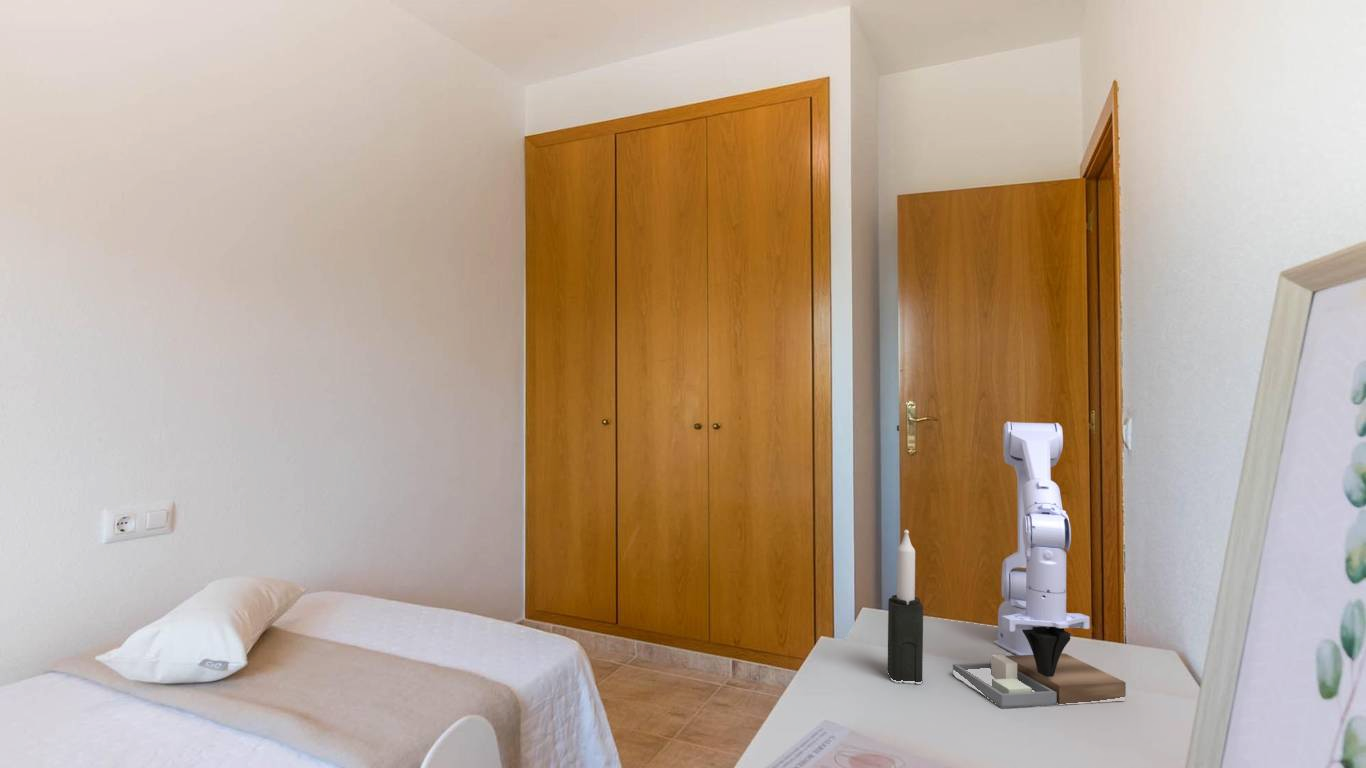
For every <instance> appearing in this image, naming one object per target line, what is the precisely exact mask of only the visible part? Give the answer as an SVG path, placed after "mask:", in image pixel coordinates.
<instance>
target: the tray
mask: <svg viewBox="0 0 1366 768" xmlns="http://www.w3.org/2000/svg"><path fill="white" fill-rule="evenodd" d="M980 668H990V669H991V661H990V662H989V661H988V662H974V663H973V662H972V663H971V662H968V663H967V662H966V663H965V662H964V663H952V671H953V670H955V671H956V672H958V673H959V674H960V675H961V676H963V677H964V678H965V679H967V680H968V681H969V682H970V683H971V684H972V685H974V686H975V687H976V688H977V689H978V690H980V691H981V692H982V693H983V694H984V695H985V696H986V697H988V698H989V699H990V700H992V701H993V702H994V703H996V704H997V705H998V706H997V705H996V704H995V705H996V706H997V707H999V706H1000V707H1001V708H1000V707H999V708H1000V709H1002V708H1006V709H1018V707H1023V708H1030V707H1029V706H1040V707H1045V706H1044V705H1057V706H1058V704H1057V692H1055V691H1053V690H1051V689H1050V688H1048V687H1046V686H1044V685H1042V684H1041V683H1039V682H1037V681H1035V680H1034V679H1032V678H1030V677H1028V676H1026V675H1025V674H1023V673H1021V672H1019V671H1018V670H1017V679H1018V680H1019V681H1021V682H1022V683H1024V684H1025V685H1027V686H1029V687H1030V688H1032V690H1034V691H1035V692H1024V693H1005V694H1003V693H1001V692H1000V691H998V690H996V689H995V688H993V687H992V686H990V685H989V684H987V683H985V682H984V681H982V680H981V679H979V678H978V677H976V676H974V675H973V674H971V673H970V672H968V671H966V670H968V669H980ZM990 700H989V701H990ZM993 702H992V703H993ZM994 703H993V704H994Z"/></svg>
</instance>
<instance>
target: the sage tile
mask: <svg viewBox="0 0 1366 768" xmlns="http://www.w3.org/2000/svg"><path fill="white" fill-rule="evenodd" d="M992 687H993V688H995V689H996V690H998V691H1000V692H1001V693H1003V694H1005V693H1024V692H1032V688H1030V687H1029V686H1027V685H1025V684H1024V683H1022V682H1020V681H1018V680H1017V679H1015V678H1010V679H992Z"/></svg>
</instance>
